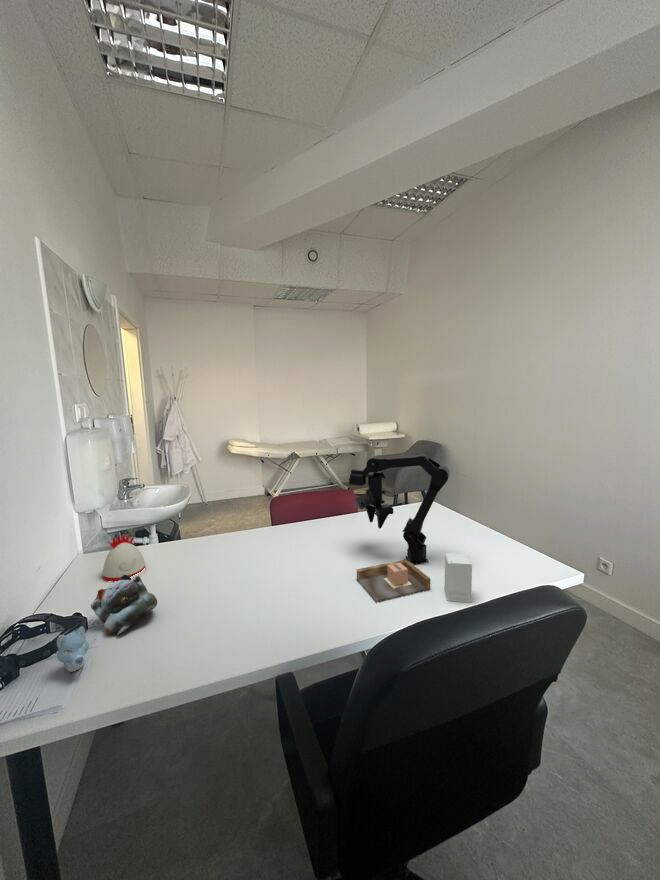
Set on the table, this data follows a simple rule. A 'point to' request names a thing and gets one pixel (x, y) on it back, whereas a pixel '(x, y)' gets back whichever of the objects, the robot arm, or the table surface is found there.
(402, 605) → the table surface
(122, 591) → the lucky cat figurine
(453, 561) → the supplement box
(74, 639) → the wolf head
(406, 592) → the arena
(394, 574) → the terracotta block
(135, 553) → the kitchen timer
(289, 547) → the table surface
